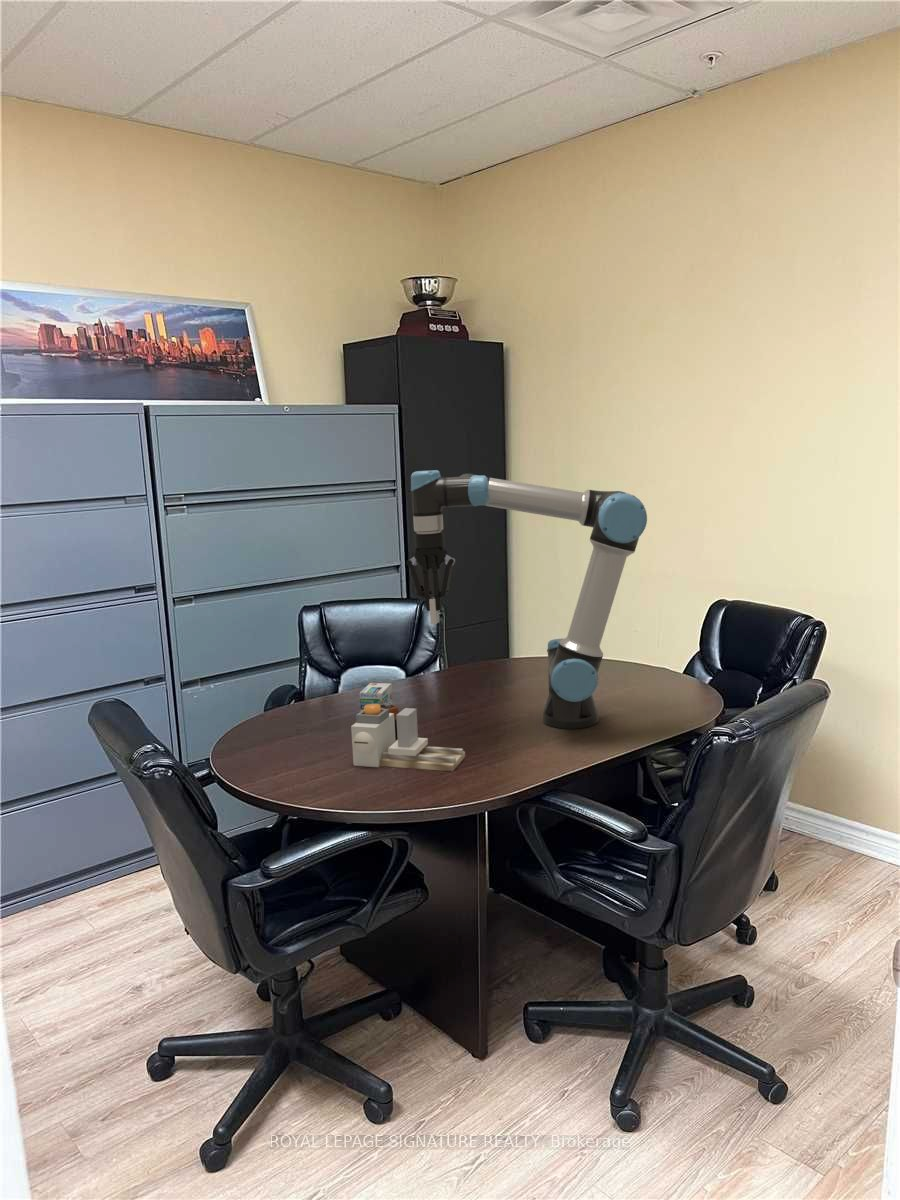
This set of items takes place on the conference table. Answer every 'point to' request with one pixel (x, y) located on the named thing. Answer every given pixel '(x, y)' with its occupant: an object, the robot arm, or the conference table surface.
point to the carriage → (407, 734)
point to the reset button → (372, 709)
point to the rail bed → (426, 759)
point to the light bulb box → (376, 694)
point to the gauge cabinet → (372, 737)
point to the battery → (391, 710)
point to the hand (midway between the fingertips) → (435, 622)
